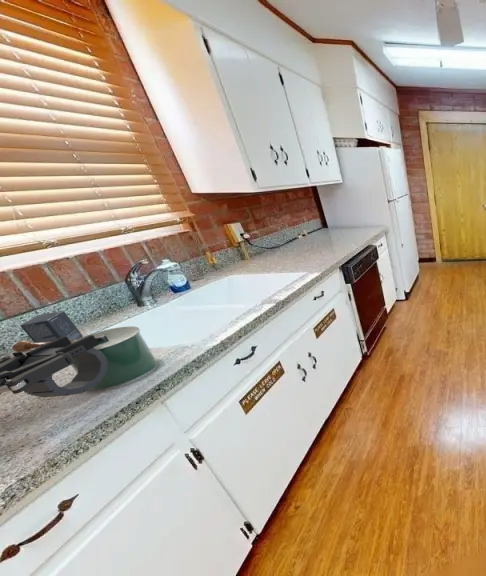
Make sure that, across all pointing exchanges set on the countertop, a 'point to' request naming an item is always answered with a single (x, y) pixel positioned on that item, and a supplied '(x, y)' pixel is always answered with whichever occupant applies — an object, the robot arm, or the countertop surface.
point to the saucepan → (113, 354)
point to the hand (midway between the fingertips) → (81, 340)
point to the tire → (86, 378)
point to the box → (51, 327)
